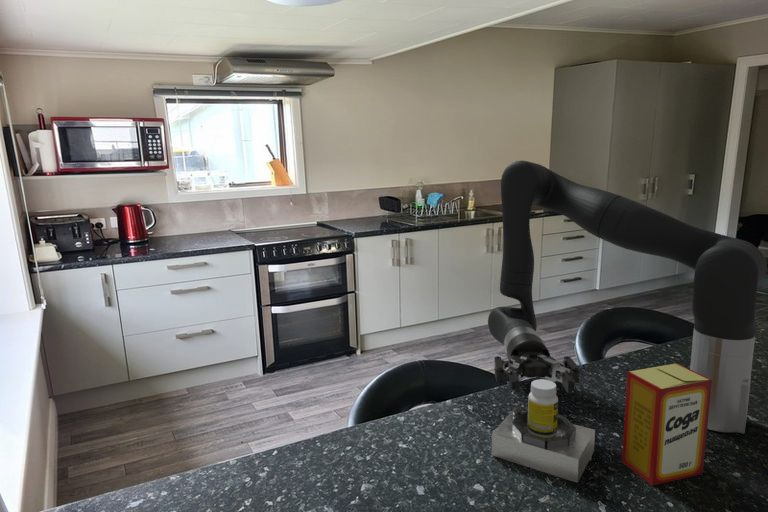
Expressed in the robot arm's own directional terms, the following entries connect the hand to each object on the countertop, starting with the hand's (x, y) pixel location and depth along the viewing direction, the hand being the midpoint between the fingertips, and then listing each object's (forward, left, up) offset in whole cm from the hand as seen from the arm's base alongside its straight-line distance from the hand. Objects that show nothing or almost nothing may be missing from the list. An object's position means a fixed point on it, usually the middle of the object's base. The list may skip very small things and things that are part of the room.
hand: (543, 387), depth 87 cm
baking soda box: (-17, -5, -12) cm, 22 cm away
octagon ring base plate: (0, +1, -11) cm, 11 cm away
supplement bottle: (0, +1, -8) cm, 8 cm away
